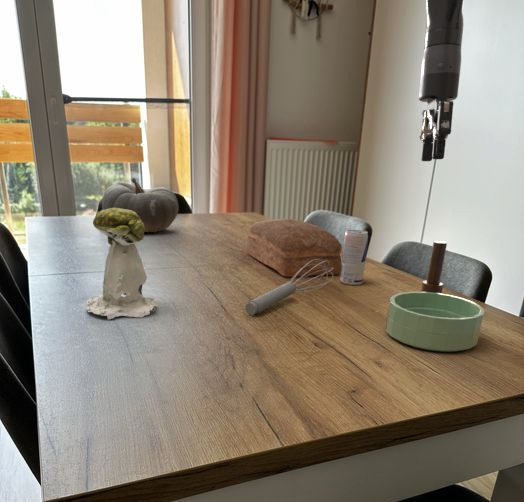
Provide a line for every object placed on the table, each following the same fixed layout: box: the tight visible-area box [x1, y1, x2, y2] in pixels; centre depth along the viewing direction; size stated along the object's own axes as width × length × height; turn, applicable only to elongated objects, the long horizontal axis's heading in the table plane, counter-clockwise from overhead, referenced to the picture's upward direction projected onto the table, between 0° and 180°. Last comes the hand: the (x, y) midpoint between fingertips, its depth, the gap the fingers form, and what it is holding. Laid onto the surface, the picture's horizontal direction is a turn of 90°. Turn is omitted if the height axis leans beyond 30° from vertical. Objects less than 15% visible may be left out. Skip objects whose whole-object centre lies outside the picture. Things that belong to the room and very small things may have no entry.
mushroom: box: [85, 208, 158, 320], centre depth 93 cm, size 12×13×18 cm
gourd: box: [101, 177, 180, 233], centre depth 172 cm, size 25×25×17 cm
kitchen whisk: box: [242, 259, 334, 318], centre depth 107 cm, size 6×34×6 cm, turn 147°
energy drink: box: [339, 229, 369, 286], centre depth 120 cm, size 5×5×12 cm
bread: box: [245, 218, 343, 278], centre depth 136 cm, size 17×29×11 cm, turn 21°
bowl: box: [385, 291, 486, 353], centre depth 89 cm, size 15×15×6 cm
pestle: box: [420, 240, 448, 294], centre depth 112 cm, size 4×4×12 cm
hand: (431, 160), depth 108 cm, fingers open, 8 cm apart
